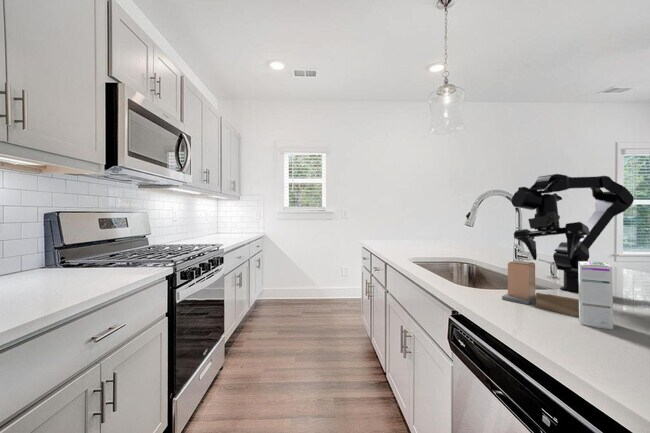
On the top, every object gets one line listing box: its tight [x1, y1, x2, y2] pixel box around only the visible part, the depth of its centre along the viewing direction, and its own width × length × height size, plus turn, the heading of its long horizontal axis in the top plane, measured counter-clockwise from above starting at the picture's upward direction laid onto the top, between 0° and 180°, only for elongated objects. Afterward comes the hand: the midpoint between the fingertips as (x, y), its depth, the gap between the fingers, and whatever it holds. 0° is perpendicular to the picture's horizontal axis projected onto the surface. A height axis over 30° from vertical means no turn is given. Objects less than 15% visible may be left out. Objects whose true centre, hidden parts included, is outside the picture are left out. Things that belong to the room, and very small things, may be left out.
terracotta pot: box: [507, 260, 536, 299], centre depth 90 cm, size 6×6×10 cm
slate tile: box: [501, 293, 536, 306], centre depth 90 cm, size 10×7×1 cm
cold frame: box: [535, 292, 579, 317], centre depth 81 cm, size 10×10×4 cm
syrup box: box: [578, 260, 614, 331], centre depth 70 cm, size 6×6×14 cm
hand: (551, 259), depth 92 cm, fingers open, 9 cm apart
